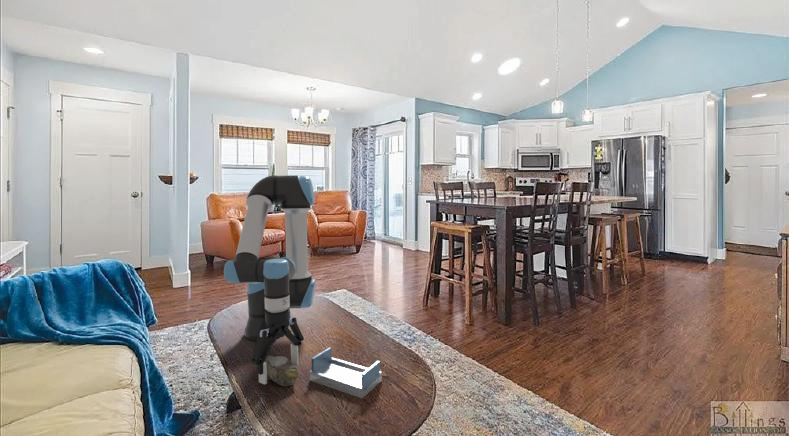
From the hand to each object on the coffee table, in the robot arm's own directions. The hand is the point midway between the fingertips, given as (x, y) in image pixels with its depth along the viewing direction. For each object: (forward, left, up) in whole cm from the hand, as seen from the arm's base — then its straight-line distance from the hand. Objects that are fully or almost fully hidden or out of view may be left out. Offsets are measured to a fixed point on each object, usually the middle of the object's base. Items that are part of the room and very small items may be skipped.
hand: (279, 373), depth 123 cm
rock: (-1, 0, -3) cm, 3 cm away
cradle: (+19, +10, -2) cm, 21 cm away
